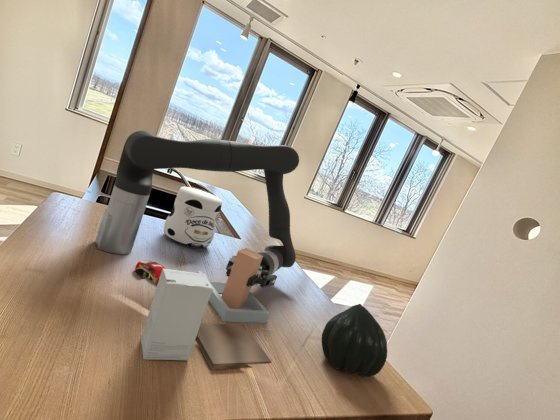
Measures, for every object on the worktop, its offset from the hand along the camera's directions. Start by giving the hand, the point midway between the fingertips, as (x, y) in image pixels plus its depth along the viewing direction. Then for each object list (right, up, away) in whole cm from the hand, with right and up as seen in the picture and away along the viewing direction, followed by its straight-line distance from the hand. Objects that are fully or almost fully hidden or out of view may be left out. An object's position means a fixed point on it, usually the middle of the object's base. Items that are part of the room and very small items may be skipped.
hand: (238, 277), depth 88 cm
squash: (+25, -20, -3) cm, 32 cm away
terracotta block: (-2, -7, +4) cm, 8 cm away
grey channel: (-3, -8, +5) cm, 10 cm away
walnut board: (-1, -12, -14) cm, 18 cm away
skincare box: (-11, -9, -23) cm, 27 cm away
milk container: (-23, +5, +40) cm, 47 cm away
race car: (-21, -2, +3) cm, 22 cm away
